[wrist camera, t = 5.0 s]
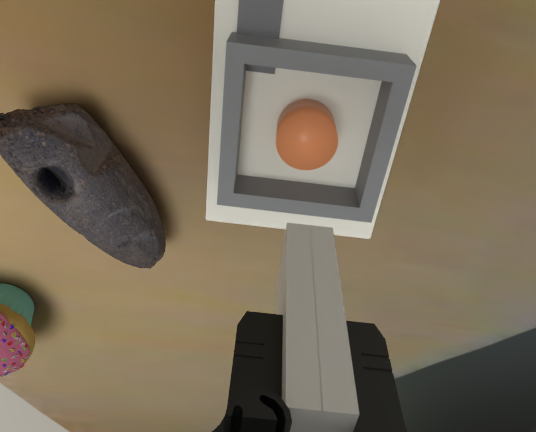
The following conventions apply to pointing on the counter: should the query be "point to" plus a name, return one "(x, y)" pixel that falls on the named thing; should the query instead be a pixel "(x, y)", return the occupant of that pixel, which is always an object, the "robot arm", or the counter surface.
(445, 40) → the counter surface
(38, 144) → the perforated stone tool
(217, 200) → the white box with tray
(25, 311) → the cupcake
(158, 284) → the counter surface
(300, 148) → the button
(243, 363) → the robot arm
